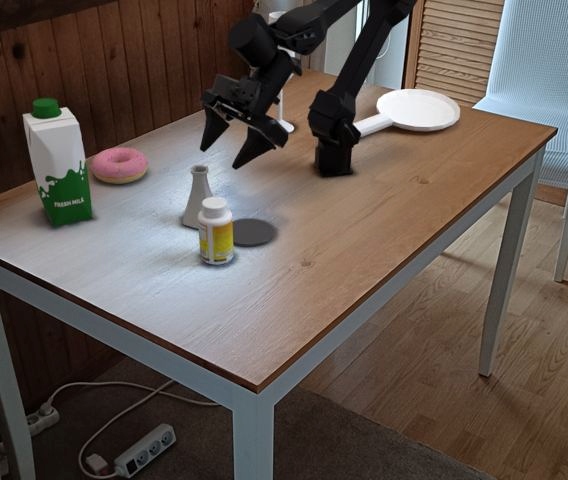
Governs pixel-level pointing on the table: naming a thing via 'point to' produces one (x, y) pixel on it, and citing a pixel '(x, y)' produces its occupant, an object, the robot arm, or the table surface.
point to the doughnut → (119, 165)
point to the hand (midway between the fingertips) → (217, 159)
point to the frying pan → (411, 112)
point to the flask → (197, 195)
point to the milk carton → (58, 162)
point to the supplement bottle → (215, 231)
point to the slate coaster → (251, 232)
